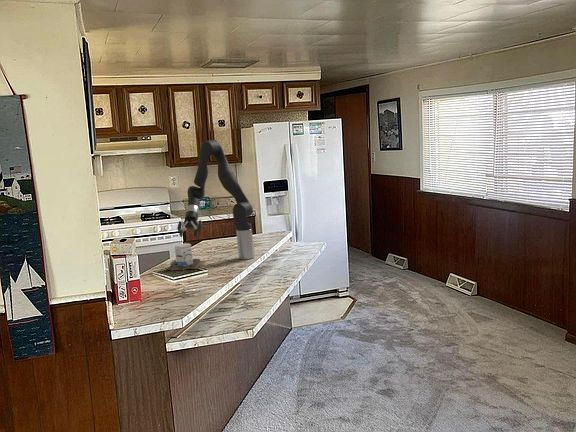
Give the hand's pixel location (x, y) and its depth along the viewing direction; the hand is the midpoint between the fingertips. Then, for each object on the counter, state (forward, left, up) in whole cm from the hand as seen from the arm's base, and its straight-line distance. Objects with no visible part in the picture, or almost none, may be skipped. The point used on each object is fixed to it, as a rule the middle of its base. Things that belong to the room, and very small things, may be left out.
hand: (188, 236), depth 309 cm
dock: (0, +8, -16) cm, 18 cm away
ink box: (+1, +8, -15) cm, 17 cm away
